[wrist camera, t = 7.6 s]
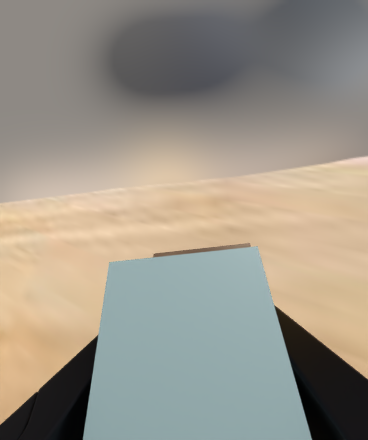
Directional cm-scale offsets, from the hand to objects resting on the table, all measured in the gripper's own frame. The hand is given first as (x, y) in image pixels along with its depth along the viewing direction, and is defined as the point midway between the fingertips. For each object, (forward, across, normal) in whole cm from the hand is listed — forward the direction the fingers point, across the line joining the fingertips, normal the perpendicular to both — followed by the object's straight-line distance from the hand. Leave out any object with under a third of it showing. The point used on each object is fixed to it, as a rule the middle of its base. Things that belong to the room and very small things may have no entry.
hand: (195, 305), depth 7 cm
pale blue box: (+4, 0, +6) cm, 7 cm away
